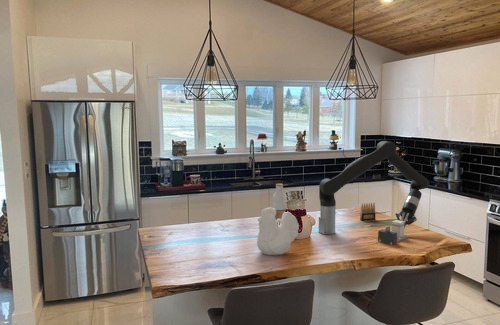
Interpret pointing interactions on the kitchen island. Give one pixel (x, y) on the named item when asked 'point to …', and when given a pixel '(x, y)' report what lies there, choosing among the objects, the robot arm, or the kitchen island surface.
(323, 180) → the robot arm
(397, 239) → the grey boxy device
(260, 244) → the decorative rooster
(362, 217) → the ammunition clip
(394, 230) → the grooved white block
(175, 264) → the kitchen island surface
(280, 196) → the white bottle
